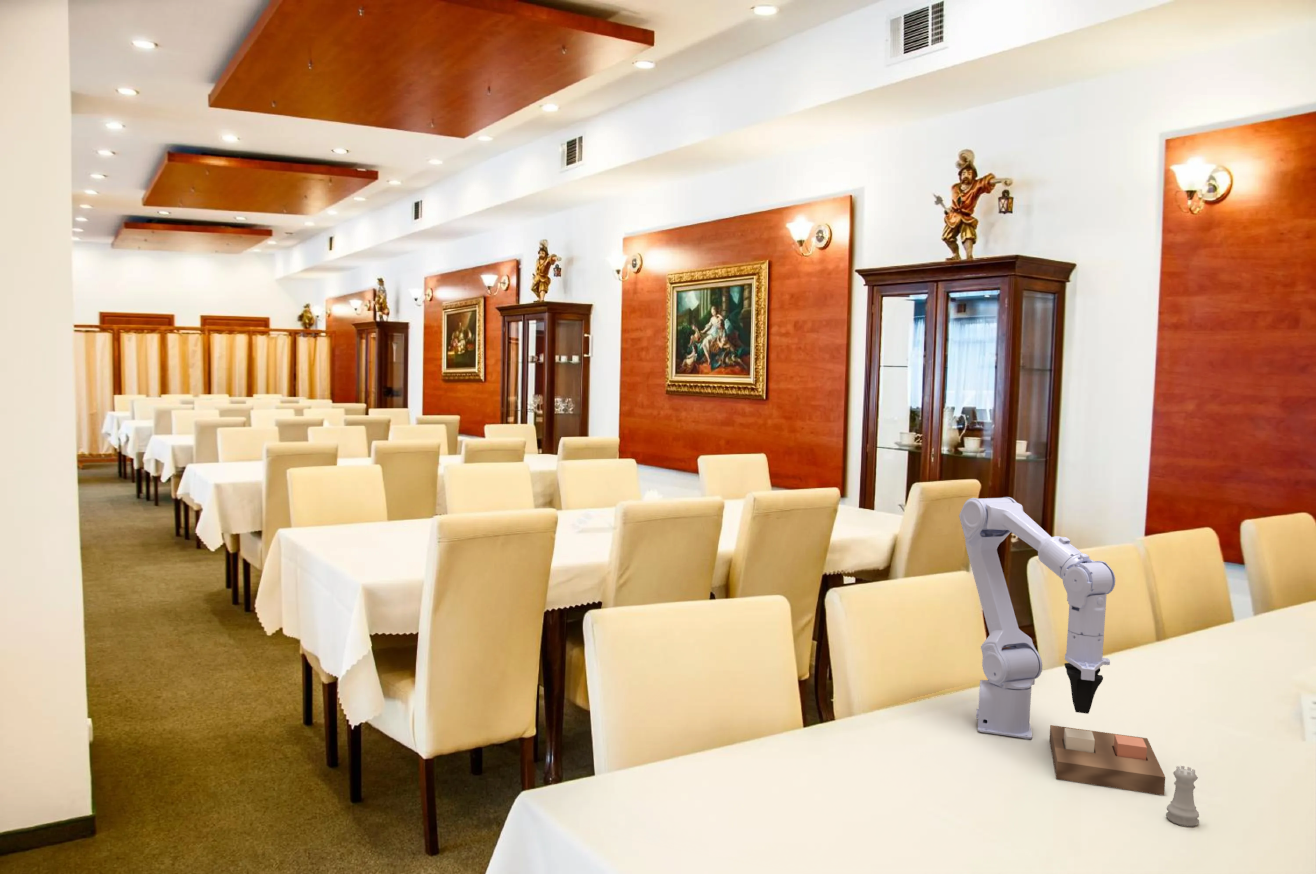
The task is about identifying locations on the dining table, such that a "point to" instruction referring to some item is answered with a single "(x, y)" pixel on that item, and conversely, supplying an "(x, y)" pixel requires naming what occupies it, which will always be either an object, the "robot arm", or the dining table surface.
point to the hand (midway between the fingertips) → (1080, 709)
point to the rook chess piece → (1183, 799)
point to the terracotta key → (1130, 747)
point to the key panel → (1106, 764)
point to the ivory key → (1079, 740)
